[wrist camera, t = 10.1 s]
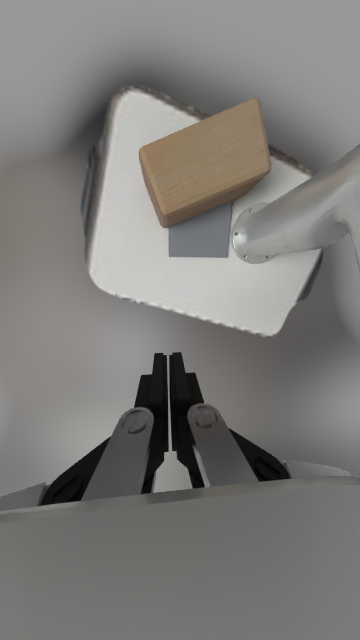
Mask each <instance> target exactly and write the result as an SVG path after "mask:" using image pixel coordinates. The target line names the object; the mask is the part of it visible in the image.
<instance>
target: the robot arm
mask: <svg viewBox="0 0 360 640" xmlns="http://www.w3.org/2000/svg"><path fill="white" fill-rule="evenodd" d="M249 211H250V212H249ZM349 232H350V236H351V239H352V243H353V244H354V249H355V253H356V257H357V262H358V266H359V270H360V144H359V145H357V146H356V147H355V148H354V149H352V150H351V151H350V152H348V153H347V154H346V155H344V156H343V157H342V158H340V159H339V160H338V161H336V162H335V163H333V164H332V165H330V166H329V167H327V168H326V169H324V170H323V171H321V172H320V173H318V174H317V175H315V176H313V177H312V178H310V179H309V180H307V181H305V182H304V183H302V184H300V185H299V186H297V187H296V188H294V189H292V190H291V191H289V192H287V193H286V194H284V195H283V196H281V197H279V198H278V199H276V200H274V201H273V202H271V203H270V204H265V203H261V204H256V205H253V206H251V207H249V208H248V209H246V210H245V211H244V212H243V213H242V214H241V215H240V216H239V217H238V219H237V220H236V222H235V224H234V227H233V231H232V244H233V248H234V250H235V252H236V254H237V255H238V257H240V258H241V259H242V260H243V261H245V262H248V263H253V264H255V263H263V262H265V261H268V260H269V259H271V258H272V257H273V256H274V255H275V254H283V253H291V252H299V251H307V250H315V249H320V248H324V247H326V246H329V245H331V244H333V243H335V242H337V241H338V240H340V239H341V238H342V237H344V236H345V235H346V234H347V233H349ZM235 234H236V236H235ZM244 256H245V258H244ZM169 362H170V363H169V366H170V367H169V369H170V370H169V371H170V412H171V435H172V451H177V459H178V460H179V461H180V462H181V463H182V464H183V465H184V466H185V467H186V474H187V478H188V482H189V487H190V489H186V490H176V491H167V492H158V493H153V491H154V485H155V479H156V470H157V469H158V468H159V466H160V465H161V464H162V463H163V461H164V452H168V451H169V450H168V448H169V447H168V446H169V445H168V385H167V355H163V353H155V355H154V363H153V372H152V375H141V378H140V383H139V388H138V392H137V396H136V401H135V406H134V408H132V409H130V410H128V411H126V412H125V413H124V414H123V415H122V416H121V418H120V419H119V421H118V423H117V425H116V427H115V429H114V432H113V434H112V436H110V437H109V438H108V439H106V440H105V441H104V442H103V443H101V444H100V445H99V446H97V447H96V448H95V449H93V450H92V451H91V452H90V453H88V454H87V455H86V456H84V457H83V458H82V459H81V460H79V461H78V462H77V463H75V464H74V465H73V466H71V467H70V468H69V469H68V470H66V471H65V472H64V473H62V474H61V475H60V476H59V477H58V478H57V479H56V480H55V481H53V483H52V484H49V485H46V483H45V482H44V483H41V484H38V485H35V486H32V487H29V488H26V489H23V490H20V491H17V492H14V493H10V494H8V495H5V496H1V497H0V640H360V478H359V477H354V476H353V475H351V474H350V473H348V472H346V471H344V470H342V469H339V468H335V467H330V466H323V465H317V464H311V463H305V462H299V461H292V460H286V459H284V462H280V461H278V460H277V459H276V458H275V457H274V456H272V455H271V454H269V453H268V452H266V451H265V450H263V449H261V448H260V447H258V446H257V445H254V444H253V443H252V442H250V441H249V440H247V439H245V438H244V437H242V436H240V435H239V434H237V433H236V432H234V431H233V430H231V429H229V428H228V427H227V425H226V423H225V421H224V420H223V418H222V416H221V414H220V413H219V411H218V410H217V409H216V408H214V407H213V406H211V405H209V404H204V401H203V398H202V394H201V391H200V388H199V384H198V381H197V377H196V374H195V373H185V368H184V363H183V359H182V354H181V352H178V353H177V352H176V353H173V355H170V356H169Z"/></svg>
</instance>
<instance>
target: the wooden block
mask: <svg viewBox="0 0 360 640" xmlns="http://www.w3.org/2000/svg"><path fill="white" fill-rule="evenodd" d="M139 160H140V164H141V169H142V173H143V177H144V182H145V185H146V188H147V190H148V193H149V195H150V198H151V201H152V203H153V206H154V209H155V211H156V214H157V216H158V219H159V222H160V224H161V226H162V227H163V228H167V227H170V226H172V225H175V224H177V223H179V222H182V221H184V220H186V219H189V218H191V217H193V216H196V215H198V214H201V213H203V212H205V211H208V210H210V209H212V208H215V207H217V206H220V205H222V204H224V203H227V202H229V201H231V200H234V199H236V198H238V197H241V196H243V195H245V194H246V193H247V192H248V191H249V190H250V189H251V188H253V187H254V186H255V185H256V184H257V183H258V182H259V181H260V180H261V179H262V178H263V177H265V176H266V175H267V174H268V173H269V172H270V169H271V160H270V154H269V149H268V143H267V138H266V131H265V125H264V120H263V113H262V108H261V102H260V100H259V98H252V99H250V100H248V101H246V102H243V103H241V104H239V105H237V106H234V107H232V108H230V109H227V110H225V111H223V112H221V113H218V114H216V115H214V116H211V117H209V118H207V119H205V120H202V121H200V122H198V123H196V124H193V125H191V126H189V127H186V128H184V129H182V130H180V131H177V132H175V133H173V134H170V135H168V136H166V137H164V138H161V139H159V140H157V141H155V142H152V143H150V144H148V145H145V146H143V147H142V148H141V149H140V150H139Z"/></svg>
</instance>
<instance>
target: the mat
mask: <svg viewBox="0 0 360 640" xmlns="http://www.w3.org/2000/svg"><path fill="white" fill-rule="evenodd" d="M231 207H232V200H231V201H229V202H227V203H224V204H222V205H220V206H217V207H215V208H212V209H210V210H208V211H205V212H203V213H201V214H198V215H196V216H193V217H191V218H189V219H186V220H184V221H182V222H179V223H177V224H175V225H172V226H170V227H169V257H223V258H227V253H228V241H229V230H230V219H231Z"/></svg>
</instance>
